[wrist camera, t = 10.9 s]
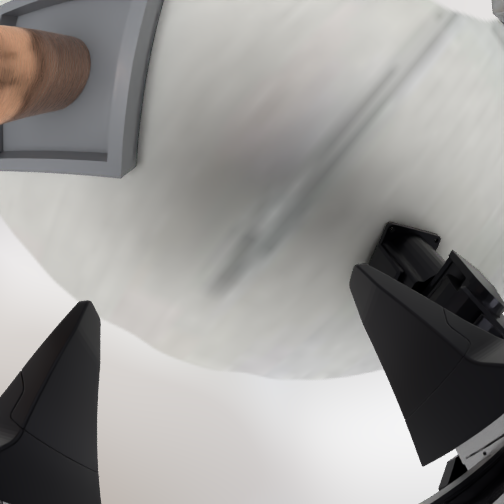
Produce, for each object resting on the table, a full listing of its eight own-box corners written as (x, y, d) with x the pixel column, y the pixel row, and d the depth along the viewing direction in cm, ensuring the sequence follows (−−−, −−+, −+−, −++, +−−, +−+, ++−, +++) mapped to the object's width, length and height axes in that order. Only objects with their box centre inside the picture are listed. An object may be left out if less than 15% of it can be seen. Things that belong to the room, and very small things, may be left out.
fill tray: (169, -19, 12) (158, -34, 9) (136, 165, 19) (120, 178, 16) (18, 10, 10) (-3, 7, 7) (2, 159, 17) (-19, 170, 14)
